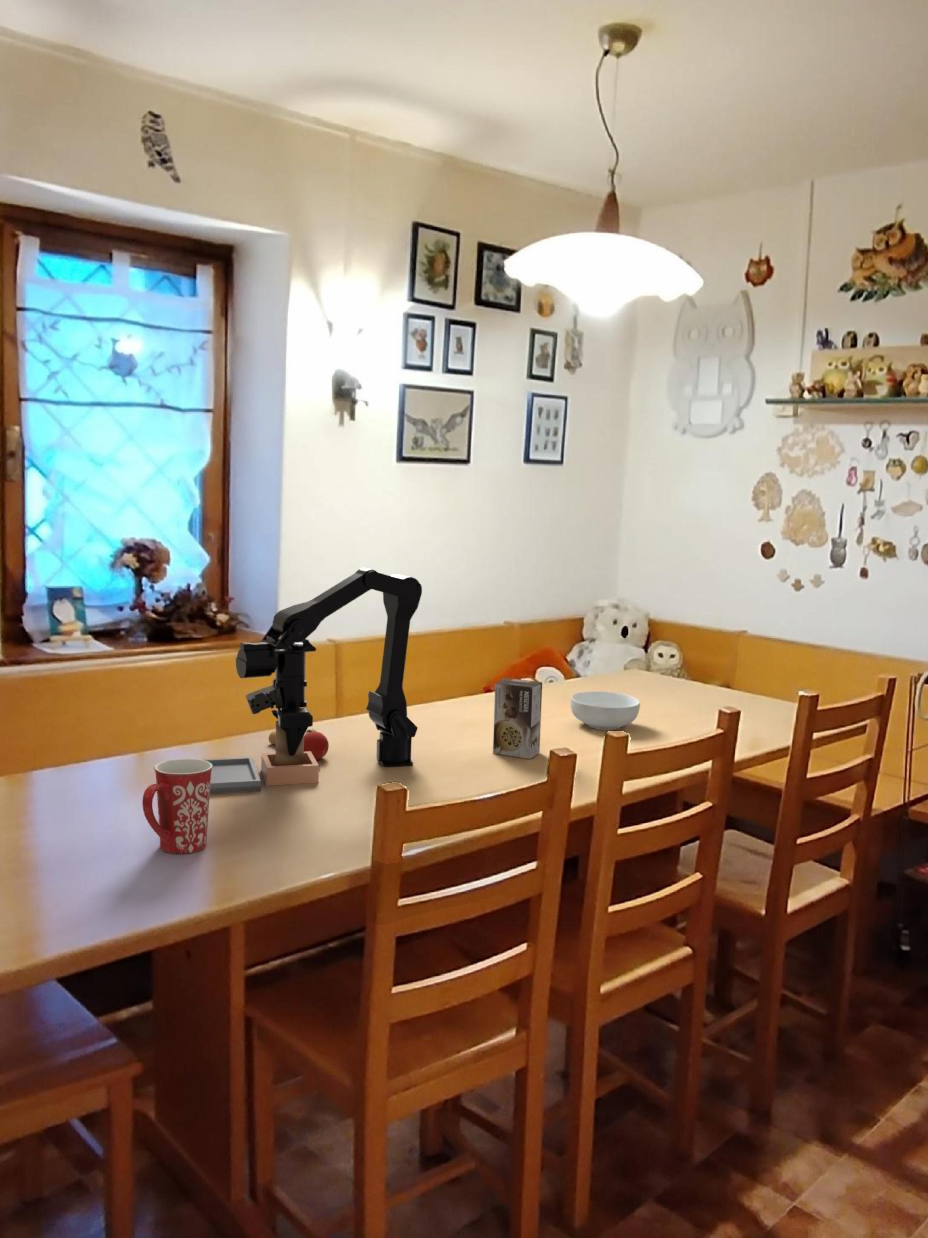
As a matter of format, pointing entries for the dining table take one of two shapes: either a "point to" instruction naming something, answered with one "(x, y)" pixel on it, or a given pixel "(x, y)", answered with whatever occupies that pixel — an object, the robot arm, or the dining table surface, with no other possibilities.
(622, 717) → the cereal bowl
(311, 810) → the dining table surface
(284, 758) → the walnut peg
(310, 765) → the pink rectangular frame
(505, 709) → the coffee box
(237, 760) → the grey tray
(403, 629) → the robot arm
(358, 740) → the dining table surface
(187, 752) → the dining table surface
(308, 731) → the kendama
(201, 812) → the mug
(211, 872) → the dining table surface
